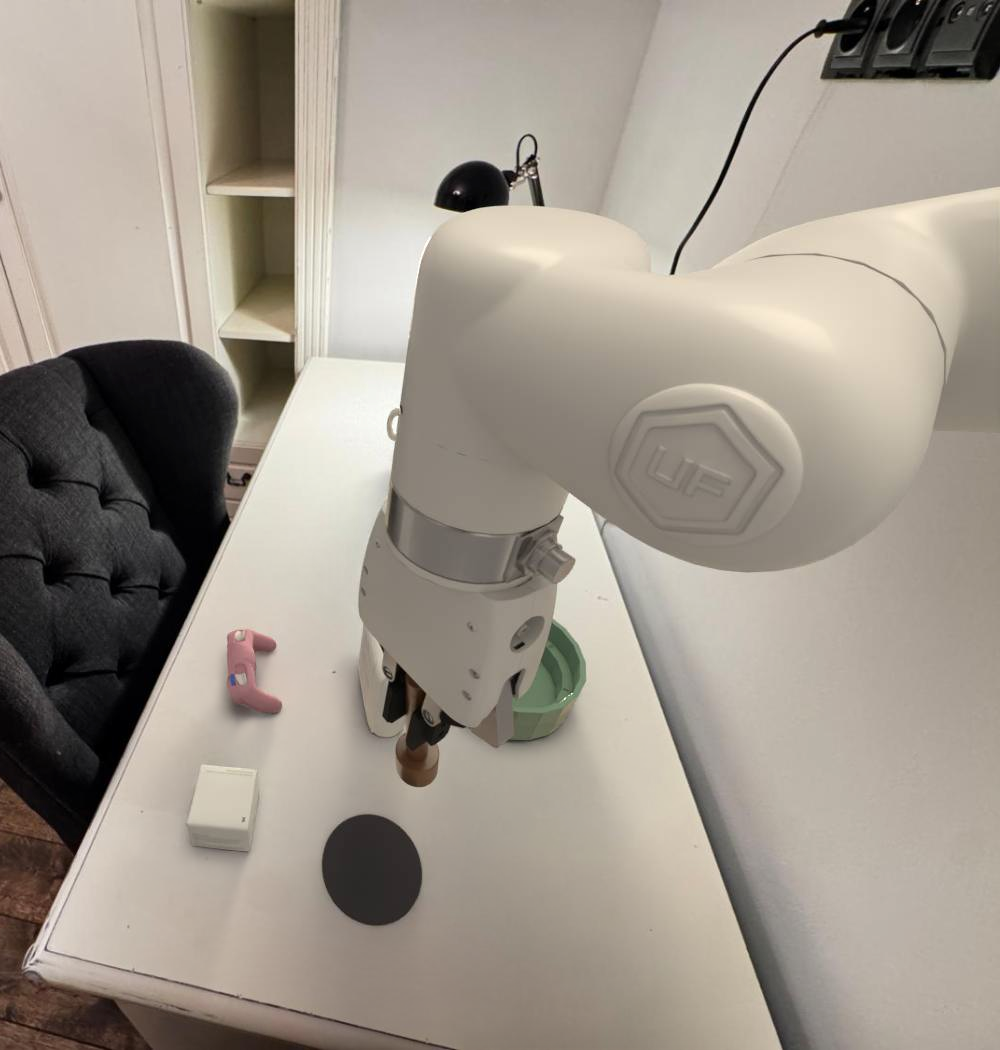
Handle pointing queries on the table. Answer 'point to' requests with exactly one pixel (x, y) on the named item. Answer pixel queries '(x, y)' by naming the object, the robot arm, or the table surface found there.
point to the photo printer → (375, 687)
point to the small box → (223, 808)
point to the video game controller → (248, 670)
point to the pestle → (424, 760)
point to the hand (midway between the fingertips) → (413, 722)
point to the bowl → (551, 687)
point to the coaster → (372, 869)
